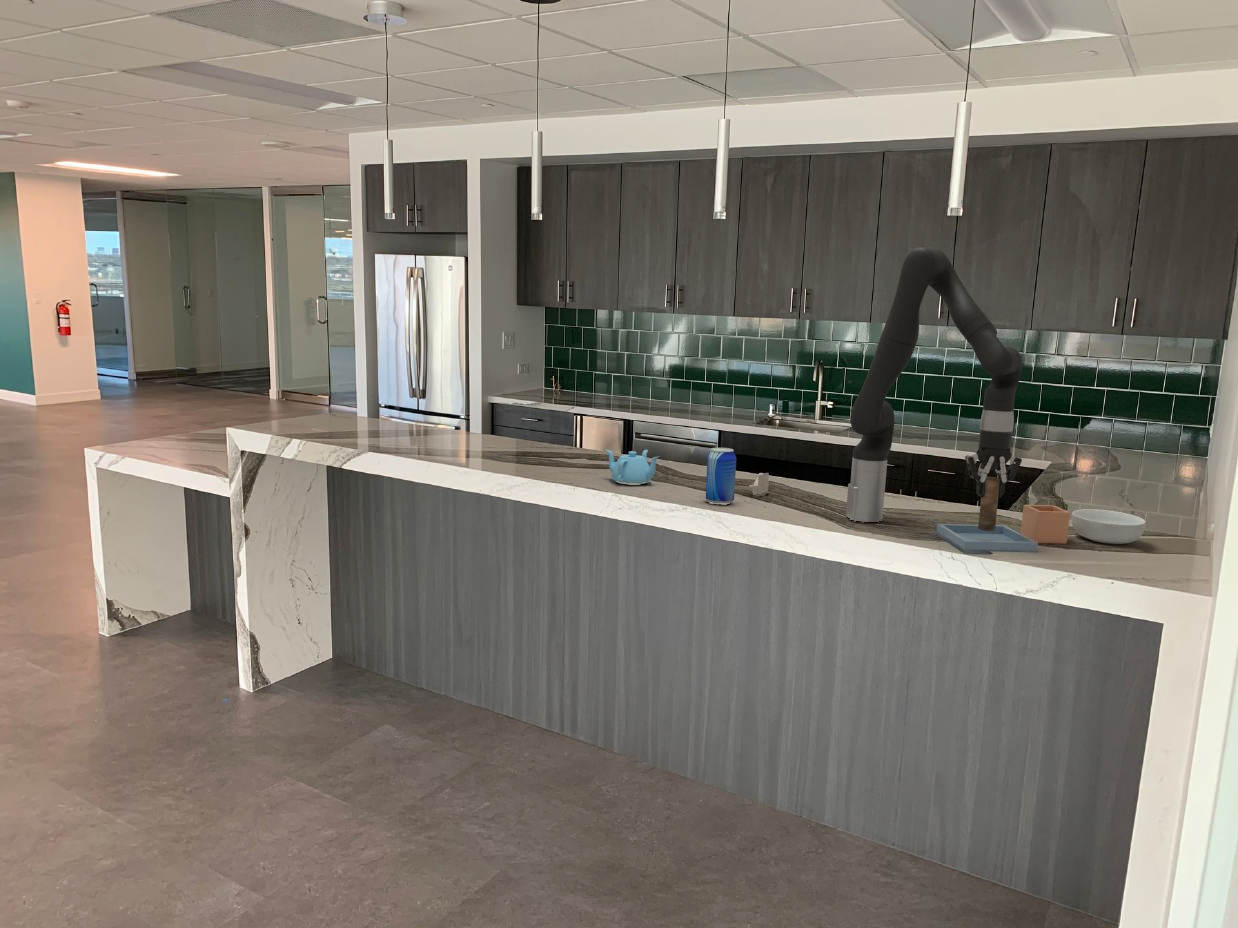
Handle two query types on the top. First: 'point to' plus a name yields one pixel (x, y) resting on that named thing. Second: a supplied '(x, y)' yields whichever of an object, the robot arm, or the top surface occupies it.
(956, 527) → the slate-blue tray
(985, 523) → the walnut peg
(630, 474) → the teapot
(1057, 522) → the terracotta open box
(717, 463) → the beer can
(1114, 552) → the top surface
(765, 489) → the architectural model
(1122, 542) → the cereal bowl
